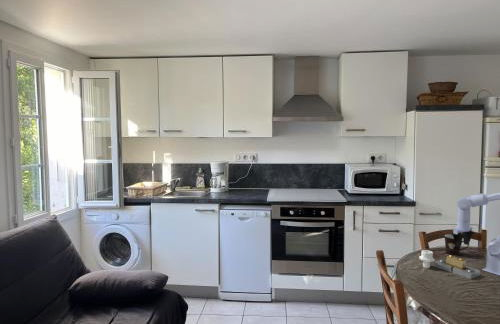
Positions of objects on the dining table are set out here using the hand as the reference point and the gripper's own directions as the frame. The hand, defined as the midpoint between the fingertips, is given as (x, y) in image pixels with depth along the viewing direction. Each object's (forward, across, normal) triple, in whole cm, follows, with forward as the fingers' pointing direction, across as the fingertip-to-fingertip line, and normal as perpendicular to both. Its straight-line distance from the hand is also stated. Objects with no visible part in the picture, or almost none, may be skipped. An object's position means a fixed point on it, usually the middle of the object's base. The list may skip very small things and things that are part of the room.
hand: (462, 245), depth 183 cm
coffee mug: (+10, -12, -10) cm, 19 cm away
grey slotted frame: (+10, +12, +4) cm, 16 cm away
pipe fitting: (+10, +20, -7) cm, 23 cm away
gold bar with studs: (+10, +12, +4) cm, 16 cm away
